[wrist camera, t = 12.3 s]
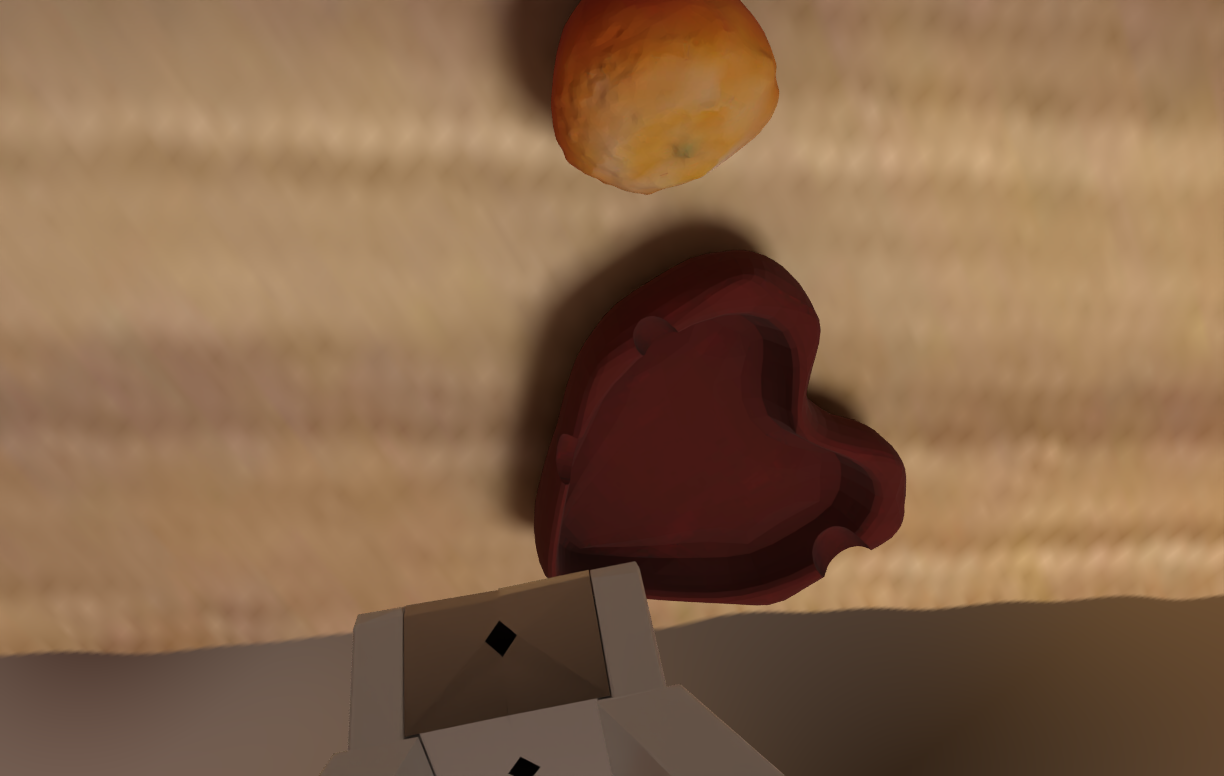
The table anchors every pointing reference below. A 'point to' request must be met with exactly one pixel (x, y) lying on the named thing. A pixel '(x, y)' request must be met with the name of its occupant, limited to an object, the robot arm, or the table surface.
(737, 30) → the fruit
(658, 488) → the ashtray
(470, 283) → the table surface
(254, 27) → the table surface
